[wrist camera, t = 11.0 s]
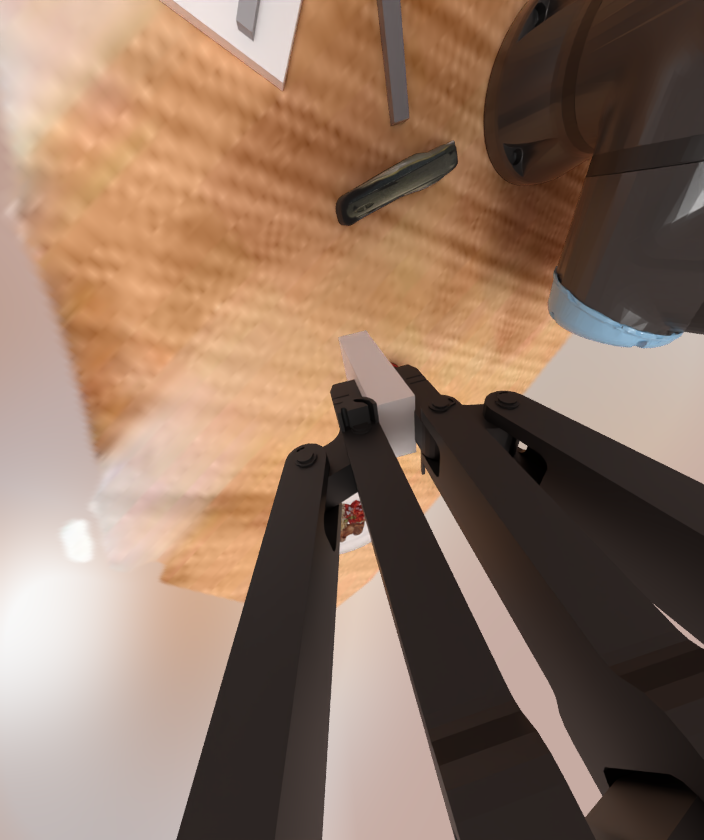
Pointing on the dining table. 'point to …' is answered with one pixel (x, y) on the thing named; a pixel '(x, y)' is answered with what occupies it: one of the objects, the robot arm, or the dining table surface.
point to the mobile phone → (397, 183)
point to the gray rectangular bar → (394, 59)
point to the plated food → (353, 526)
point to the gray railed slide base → (248, 30)
